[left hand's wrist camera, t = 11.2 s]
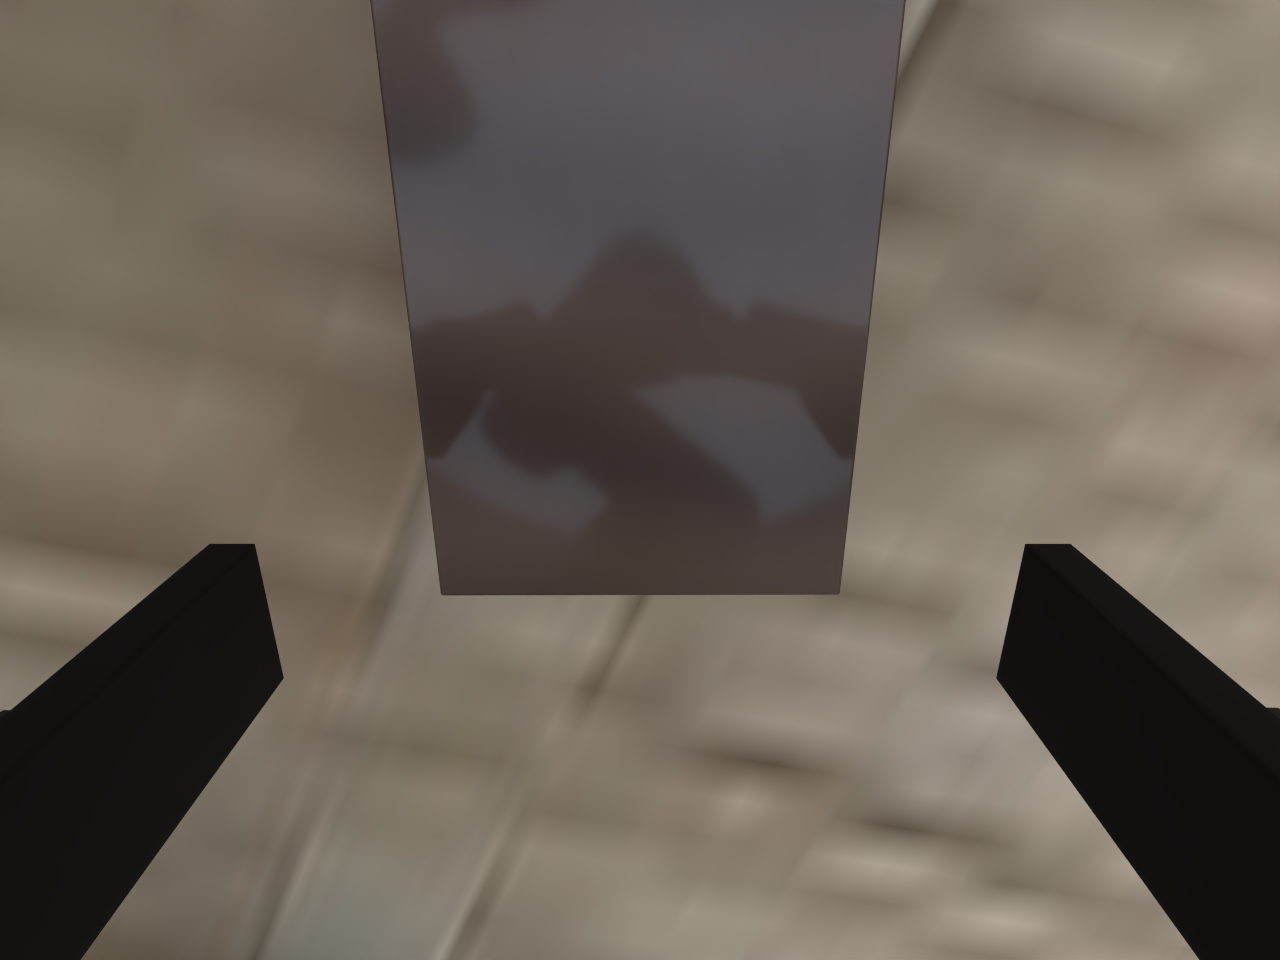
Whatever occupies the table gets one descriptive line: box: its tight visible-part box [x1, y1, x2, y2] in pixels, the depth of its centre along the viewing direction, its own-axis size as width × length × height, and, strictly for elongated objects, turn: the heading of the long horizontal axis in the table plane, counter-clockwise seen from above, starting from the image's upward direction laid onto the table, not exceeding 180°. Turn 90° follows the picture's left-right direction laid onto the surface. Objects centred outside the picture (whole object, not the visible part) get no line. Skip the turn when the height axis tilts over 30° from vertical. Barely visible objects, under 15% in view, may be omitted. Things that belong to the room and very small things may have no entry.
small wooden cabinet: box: [370, 0, 906, 595], centre depth 21 cm, size 20×10×12 cm, turn 0°
